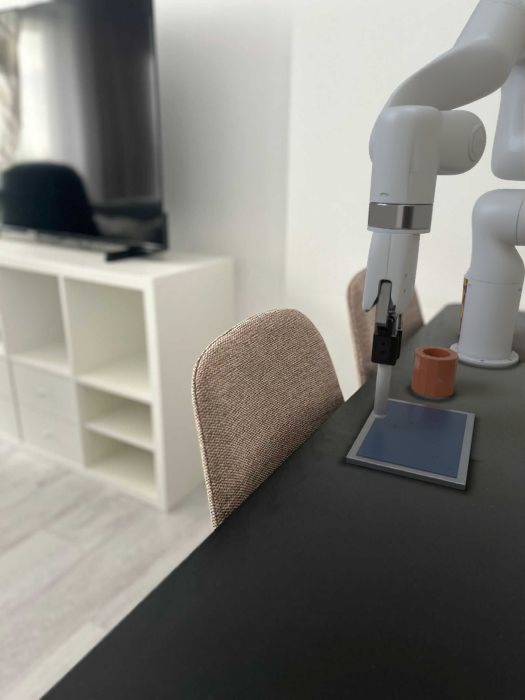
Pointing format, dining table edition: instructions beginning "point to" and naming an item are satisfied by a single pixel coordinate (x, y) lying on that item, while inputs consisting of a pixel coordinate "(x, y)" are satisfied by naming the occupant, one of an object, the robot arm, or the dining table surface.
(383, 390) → the stylus
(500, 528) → the dining table surface
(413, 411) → the tablet
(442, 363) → the holder
